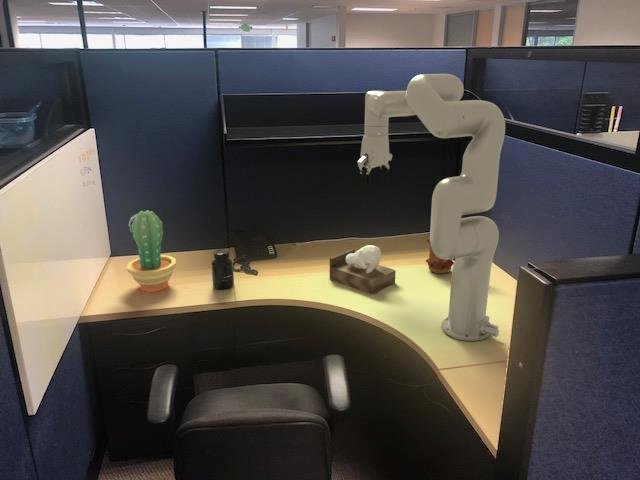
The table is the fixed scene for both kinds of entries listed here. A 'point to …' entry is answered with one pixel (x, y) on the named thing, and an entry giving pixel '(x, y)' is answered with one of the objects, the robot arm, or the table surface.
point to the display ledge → (360, 274)
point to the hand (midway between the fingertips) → (374, 183)
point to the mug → (438, 262)
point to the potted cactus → (149, 253)
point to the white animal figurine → (365, 258)
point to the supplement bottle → (222, 270)
